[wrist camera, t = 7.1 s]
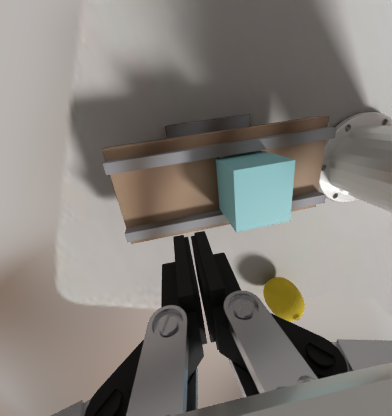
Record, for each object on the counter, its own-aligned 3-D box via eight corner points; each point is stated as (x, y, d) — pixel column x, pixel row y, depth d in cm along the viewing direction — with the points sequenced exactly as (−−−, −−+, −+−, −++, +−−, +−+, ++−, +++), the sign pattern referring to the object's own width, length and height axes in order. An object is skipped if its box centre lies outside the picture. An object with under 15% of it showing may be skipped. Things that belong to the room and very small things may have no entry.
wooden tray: (292, 108, 25) (340, 104, 19) (286, 196, 30) (322, 218, 24) (112, 133, 23) (94, 139, 16) (137, 225, 28) (132, 258, 21)
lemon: (260, 268, 35) (287, 306, 28) (288, 267, 36) (320, 304, 29) (252, 292, 37) (276, 333, 30) (279, 290, 38) (308, 330, 31)
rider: (264, 150, 20) (295, 160, 16) (263, 200, 22) (290, 221, 18) (215, 158, 19) (233, 170, 15) (219, 208, 22) (236, 232, 17)
